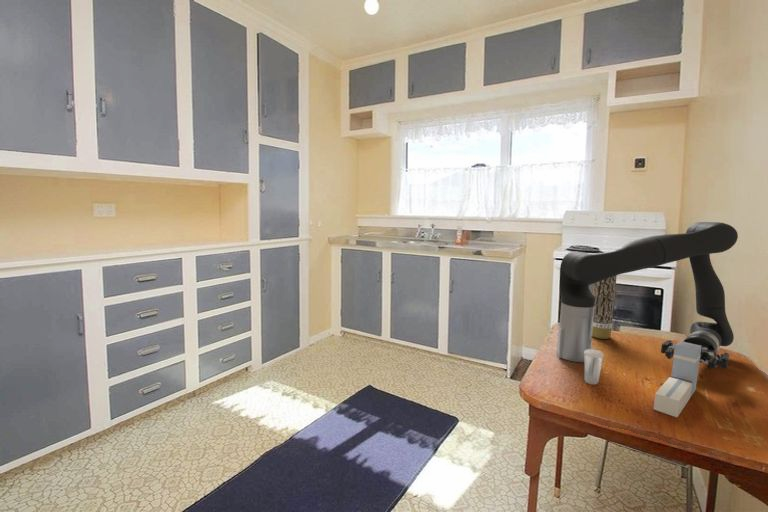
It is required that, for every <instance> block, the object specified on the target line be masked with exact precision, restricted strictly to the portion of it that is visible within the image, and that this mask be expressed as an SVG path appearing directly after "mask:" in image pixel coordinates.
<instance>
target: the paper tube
mask: <svg viewBox="0 0 768 512" xmlns="http://www.w3.org/2000/svg"><path fill="white" fill-rule="evenodd" d="M617 276H618V275H616V276H613V277H610V278H607V279H605V280H602V281H599V282H596V283H593V288H592V289H593V290H592V294H593V295H594V297H595V307H594V318H593V330H592V338H596V339H599V340H601V339H602V340H607V339H608V340H609V339H611V337H612V327H613V318H614V309H615V298H616V297H615V296H616V295H615V294H616V284H617Z"/></svg>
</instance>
